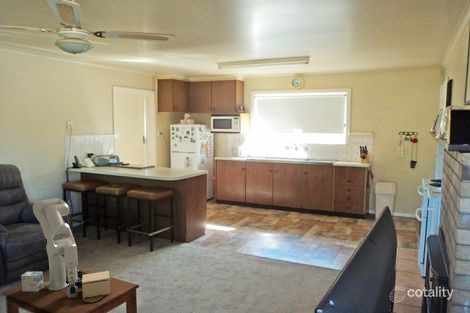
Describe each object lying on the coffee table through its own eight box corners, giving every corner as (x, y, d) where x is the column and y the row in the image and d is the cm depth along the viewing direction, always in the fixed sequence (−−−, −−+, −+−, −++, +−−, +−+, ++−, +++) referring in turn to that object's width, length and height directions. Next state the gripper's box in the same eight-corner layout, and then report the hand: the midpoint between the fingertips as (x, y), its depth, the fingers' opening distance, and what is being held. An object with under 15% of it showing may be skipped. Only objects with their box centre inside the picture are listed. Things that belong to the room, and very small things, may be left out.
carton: (82, 298, 222) (82, 284, 221) (83, 289, 235) (82, 275, 234) (110, 293, 228) (109, 280, 227) (109, 284, 241) (108, 271, 240)
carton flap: (82, 283, 221) (82, 282, 221) (82, 275, 234) (82, 274, 234) (109, 279, 227) (109, 277, 227) (108, 271, 240) (108, 270, 240)
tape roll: (67, 298, 222) (66, 290, 222) (67, 294, 228) (67, 286, 228) (77, 296, 225) (77, 289, 224) (78, 292, 230) (77, 285, 230)
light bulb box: (43, 287, 239) (42, 271, 238) (37, 291, 232) (36, 275, 231) (28, 286, 240) (27, 271, 239) (21, 291, 233) (20, 275, 232)
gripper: (77, 267, 218) (79, 294, 219) (78, 258, 234) (80, 284, 235) (63, 269, 215) (65, 297, 216) (65, 260, 231) (67, 286, 232)
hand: (73, 290), depth 225 cm, fingers open, 9 cm apart
